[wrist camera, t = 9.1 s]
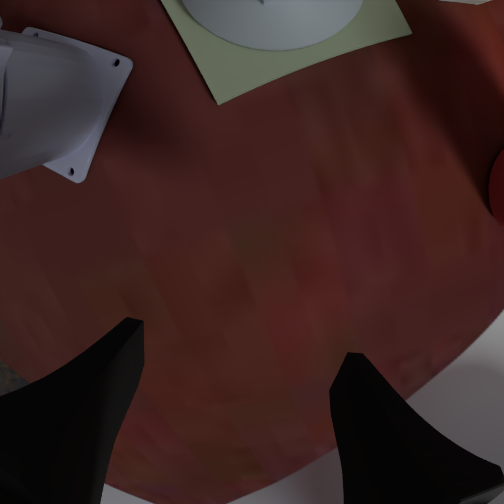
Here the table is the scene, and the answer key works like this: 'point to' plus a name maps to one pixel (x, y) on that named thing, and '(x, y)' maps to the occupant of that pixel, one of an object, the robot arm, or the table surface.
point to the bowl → (469, 1)
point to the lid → (273, 21)
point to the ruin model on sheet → (10, 379)
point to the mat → (283, 62)
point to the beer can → (497, 189)
